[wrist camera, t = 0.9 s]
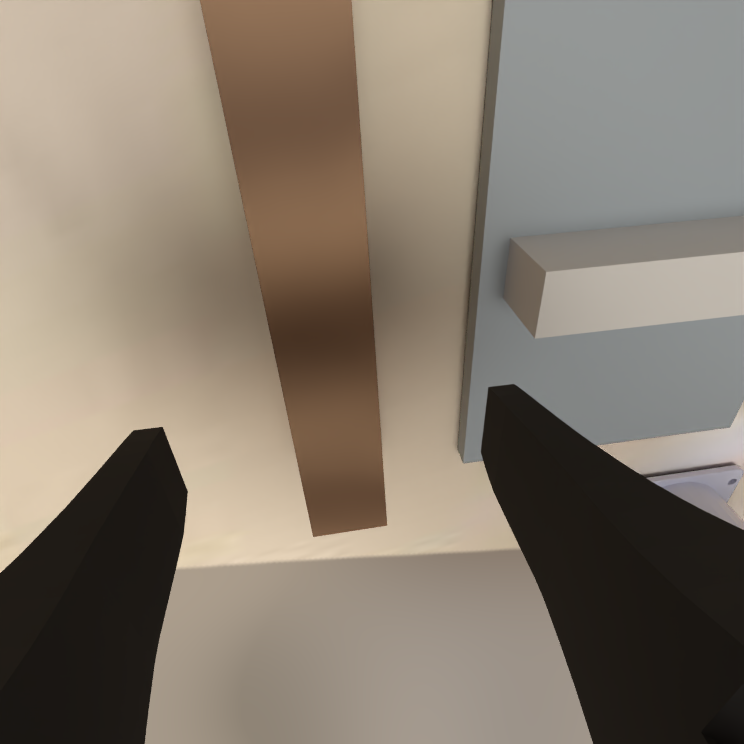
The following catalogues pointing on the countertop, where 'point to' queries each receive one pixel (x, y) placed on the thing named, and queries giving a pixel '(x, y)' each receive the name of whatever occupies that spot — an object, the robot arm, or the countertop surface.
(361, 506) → the walnut batten
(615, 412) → the ridge board
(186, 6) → the countertop surface
